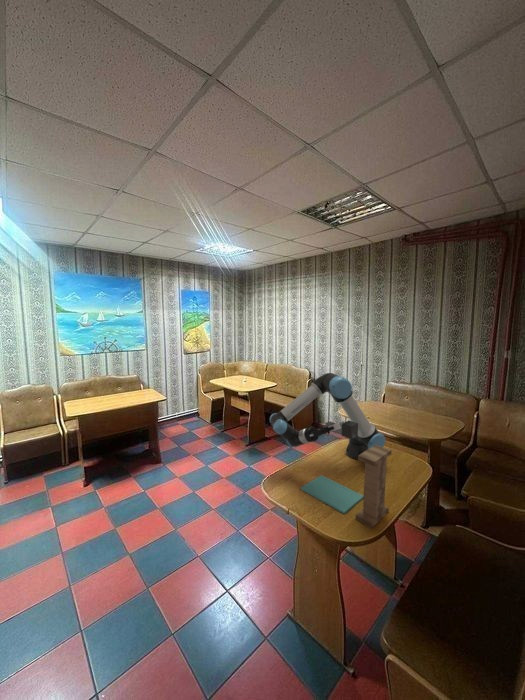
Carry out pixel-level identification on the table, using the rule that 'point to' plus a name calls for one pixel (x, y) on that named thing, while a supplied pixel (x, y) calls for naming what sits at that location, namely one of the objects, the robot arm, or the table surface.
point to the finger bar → (346, 429)
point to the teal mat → (332, 494)
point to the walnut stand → (374, 485)
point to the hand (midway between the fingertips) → (342, 424)
